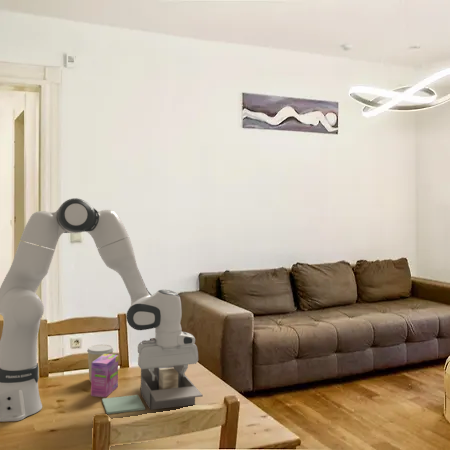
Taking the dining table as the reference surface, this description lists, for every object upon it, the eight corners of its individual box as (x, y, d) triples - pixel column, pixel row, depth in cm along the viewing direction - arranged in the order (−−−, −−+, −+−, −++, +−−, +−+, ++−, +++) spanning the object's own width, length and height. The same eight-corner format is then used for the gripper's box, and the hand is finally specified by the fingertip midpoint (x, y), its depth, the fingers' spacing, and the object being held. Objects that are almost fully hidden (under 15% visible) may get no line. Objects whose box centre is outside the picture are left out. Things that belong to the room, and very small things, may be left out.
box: (106, 397, 183) (106, 363, 183) (90, 396, 184) (90, 362, 184) (118, 387, 193) (118, 354, 193) (103, 386, 195) (103, 353, 194)
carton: (155, 419, 166) (156, 374, 165) (140, 393, 188) (141, 353, 187) (202, 413, 171) (203, 369, 171) (182, 389, 193) (183, 350, 192)
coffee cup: (109, 384, 196) (110, 351, 196) (84, 383, 197) (84, 351, 196) (115, 375, 206) (115, 344, 205) (90, 375, 206) (91, 344, 205)
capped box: (163, 404, 178) (163, 374, 178) (156, 395, 187) (157, 366, 186) (177, 402, 180) (178, 373, 179) (171, 393, 188) (171, 365, 188)
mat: (106, 414, 169) (107, 412, 169) (102, 400, 181) (102, 398, 181) (145, 409, 174) (145, 407, 174) (137, 396, 185) (137, 394, 185)
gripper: (139, 343, 176) (139, 385, 177) (199, 338, 183) (199, 378, 184) (135, 338, 182) (135, 379, 183) (194, 333, 189) (194, 372, 190)
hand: (168, 378), depth 183 cm, fingers open, 8 cm apart
